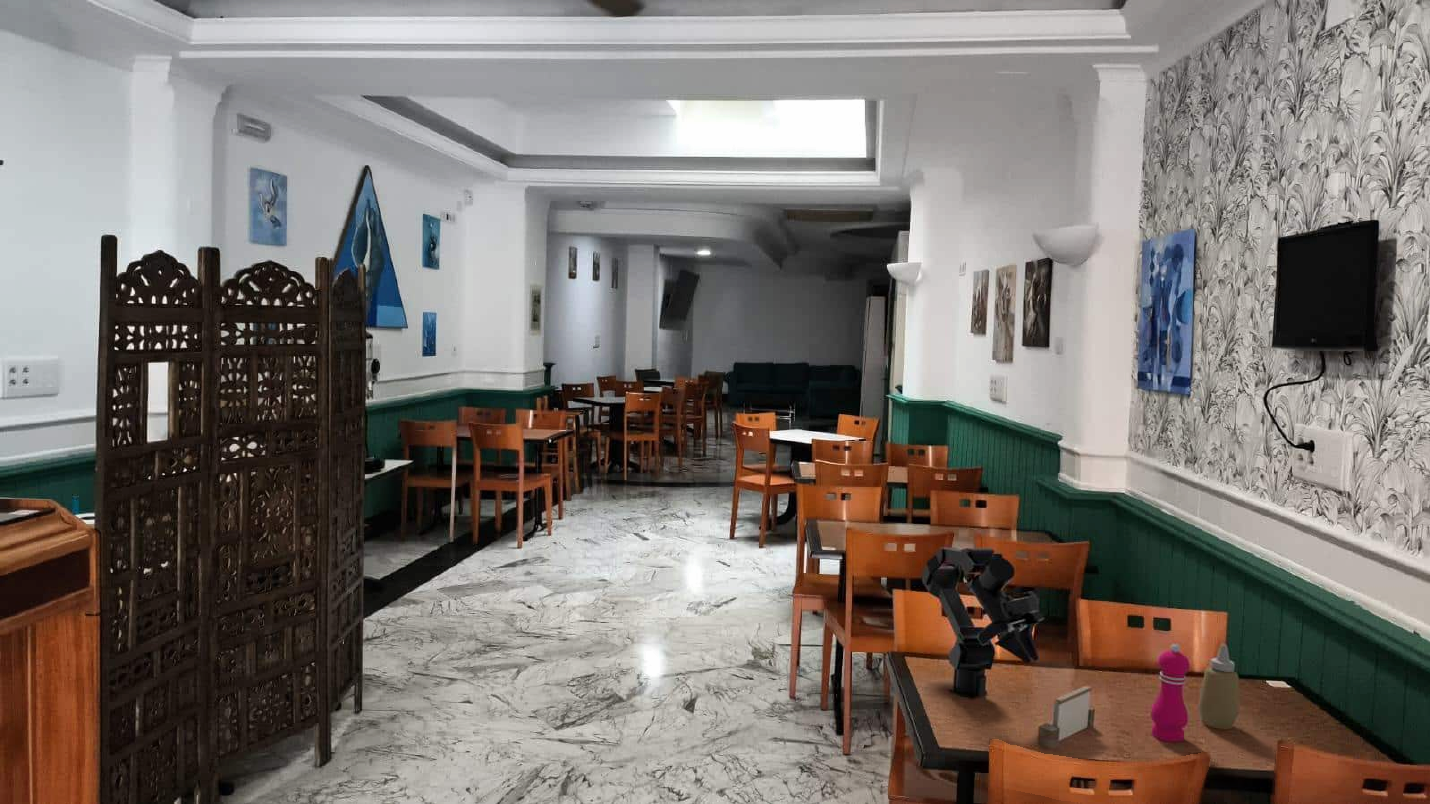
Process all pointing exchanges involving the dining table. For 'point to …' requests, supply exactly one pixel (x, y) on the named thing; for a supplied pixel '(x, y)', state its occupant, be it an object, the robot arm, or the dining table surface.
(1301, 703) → the dining table surface
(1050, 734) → the gate frame
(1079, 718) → the gate
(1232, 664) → the squeeze bottle
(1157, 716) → the pepper mill
